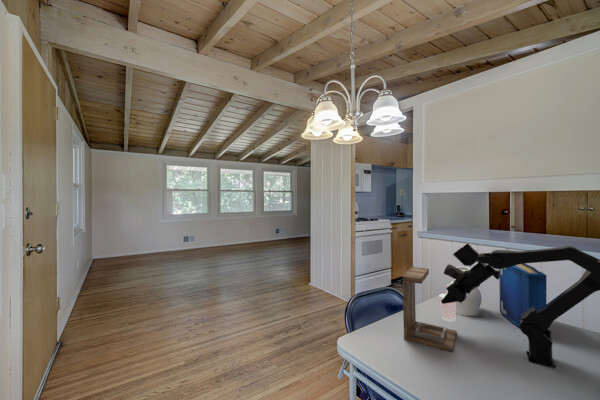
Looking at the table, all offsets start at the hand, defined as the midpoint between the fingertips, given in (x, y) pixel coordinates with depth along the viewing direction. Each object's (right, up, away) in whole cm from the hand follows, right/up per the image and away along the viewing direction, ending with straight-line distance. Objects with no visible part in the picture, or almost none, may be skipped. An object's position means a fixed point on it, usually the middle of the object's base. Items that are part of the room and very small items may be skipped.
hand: (444, 300), depth 106 cm
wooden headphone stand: (-6, -13, -2) cm, 15 cm away
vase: (+20, -13, +21) cm, 32 cm away
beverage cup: (+1, -7, -1) cm, 7 cm away
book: (+35, -13, +6) cm, 38 cm away
